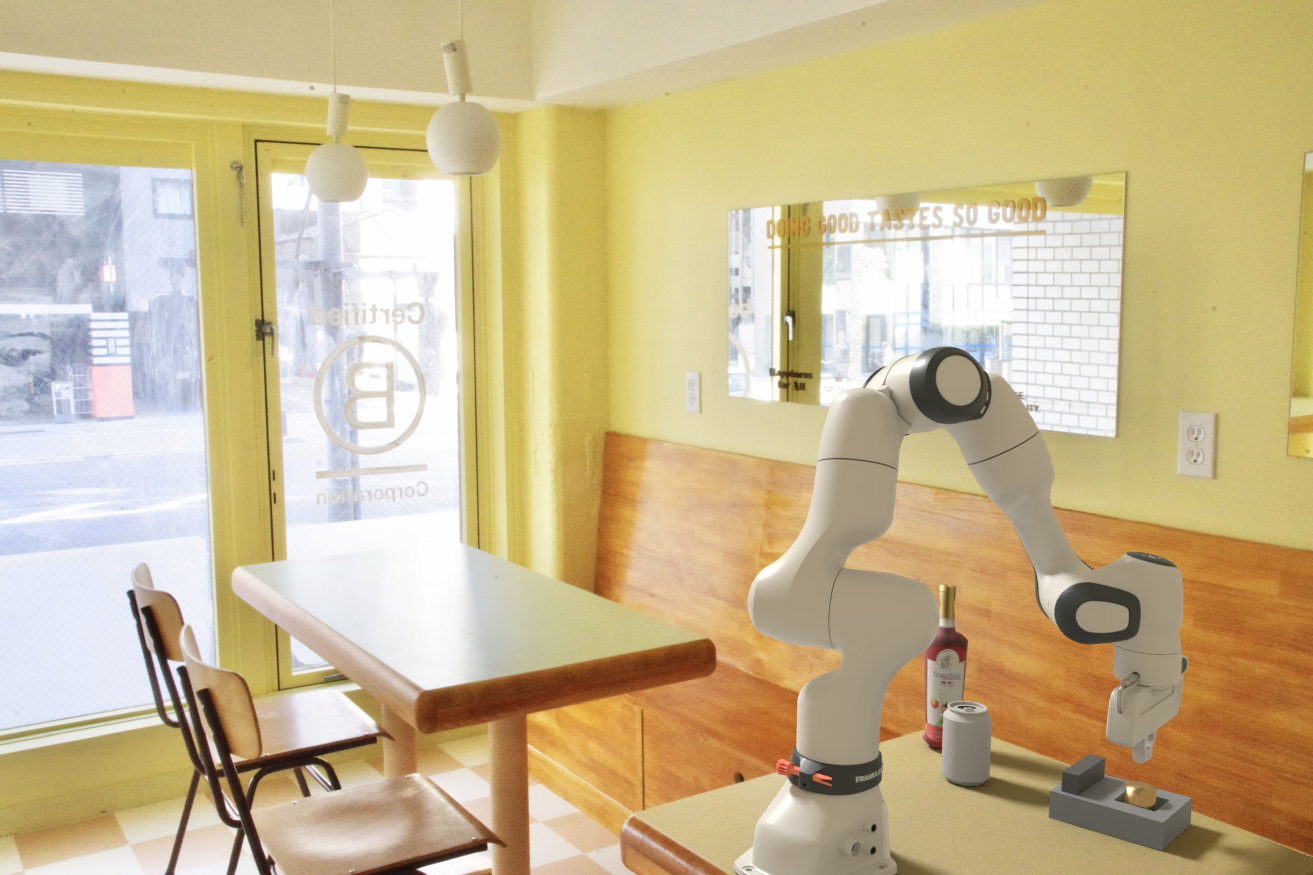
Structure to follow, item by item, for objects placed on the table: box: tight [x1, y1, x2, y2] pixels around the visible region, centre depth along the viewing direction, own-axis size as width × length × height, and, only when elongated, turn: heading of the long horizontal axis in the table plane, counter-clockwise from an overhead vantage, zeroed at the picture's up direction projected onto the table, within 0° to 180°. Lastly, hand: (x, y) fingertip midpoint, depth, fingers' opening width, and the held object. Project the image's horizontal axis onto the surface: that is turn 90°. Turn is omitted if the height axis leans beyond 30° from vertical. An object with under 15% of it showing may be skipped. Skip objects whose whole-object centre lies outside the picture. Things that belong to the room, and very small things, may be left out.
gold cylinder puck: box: [1124, 780, 1158, 811], centre depth 163 cm, size 4×4×6 cm
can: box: [940, 700, 993, 787], centre depth 181 cm, size 8×8×12 cm
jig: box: [1048, 753, 1193, 851], centre depth 165 cm, size 12×16×7 cm
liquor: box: [921, 584, 969, 751], centre depth 195 cm, size 7×7×28 cm
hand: (1141, 759), depth 163 cm, fingers closed
